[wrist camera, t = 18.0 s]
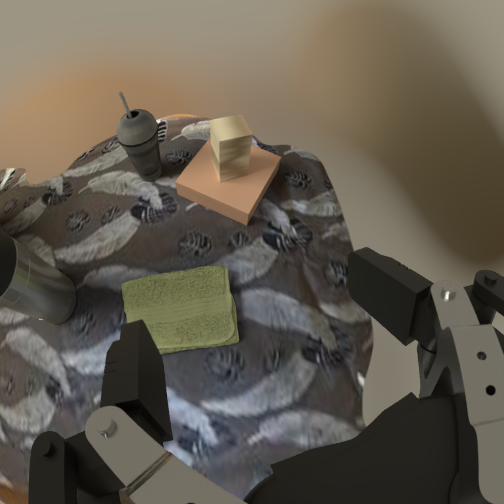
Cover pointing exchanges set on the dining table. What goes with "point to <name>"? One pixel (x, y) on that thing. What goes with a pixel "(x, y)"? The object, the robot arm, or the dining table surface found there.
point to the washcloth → (184, 308)
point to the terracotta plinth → (228, 184)
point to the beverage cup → (140, 141)
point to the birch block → (230, 147)
